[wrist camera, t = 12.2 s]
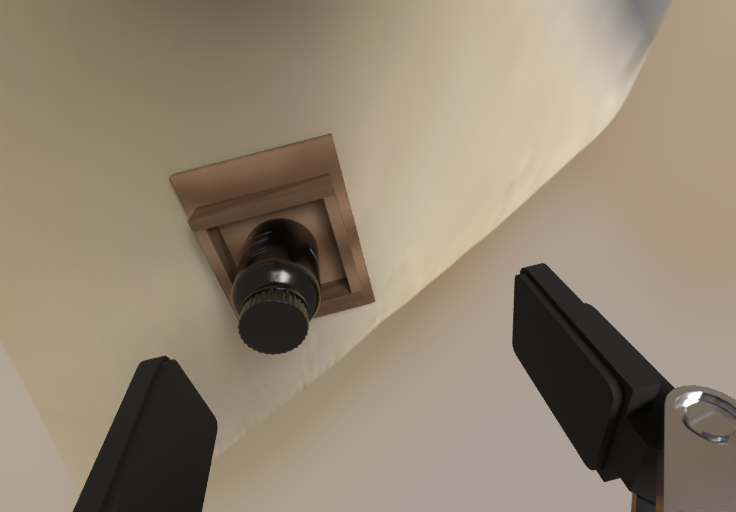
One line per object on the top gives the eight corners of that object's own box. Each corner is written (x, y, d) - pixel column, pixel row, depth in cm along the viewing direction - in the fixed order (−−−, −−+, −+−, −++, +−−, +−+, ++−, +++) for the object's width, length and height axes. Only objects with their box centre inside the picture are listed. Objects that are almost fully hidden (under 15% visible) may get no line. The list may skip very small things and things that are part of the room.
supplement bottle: (332, 244, 37) (344, 323, 27) (287, 289, 39) (282, 380, 29) (275, 200, 34) (264, 270, 24) (229, 251, 36) (200, 337, 26)
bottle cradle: (172, 174, 33) (157, 190, 29) (331, 133, 33) (334, 144, 30) (250, 329, 42) (245, 355, 39) (373, 296, 42) (380, 319, 39)
